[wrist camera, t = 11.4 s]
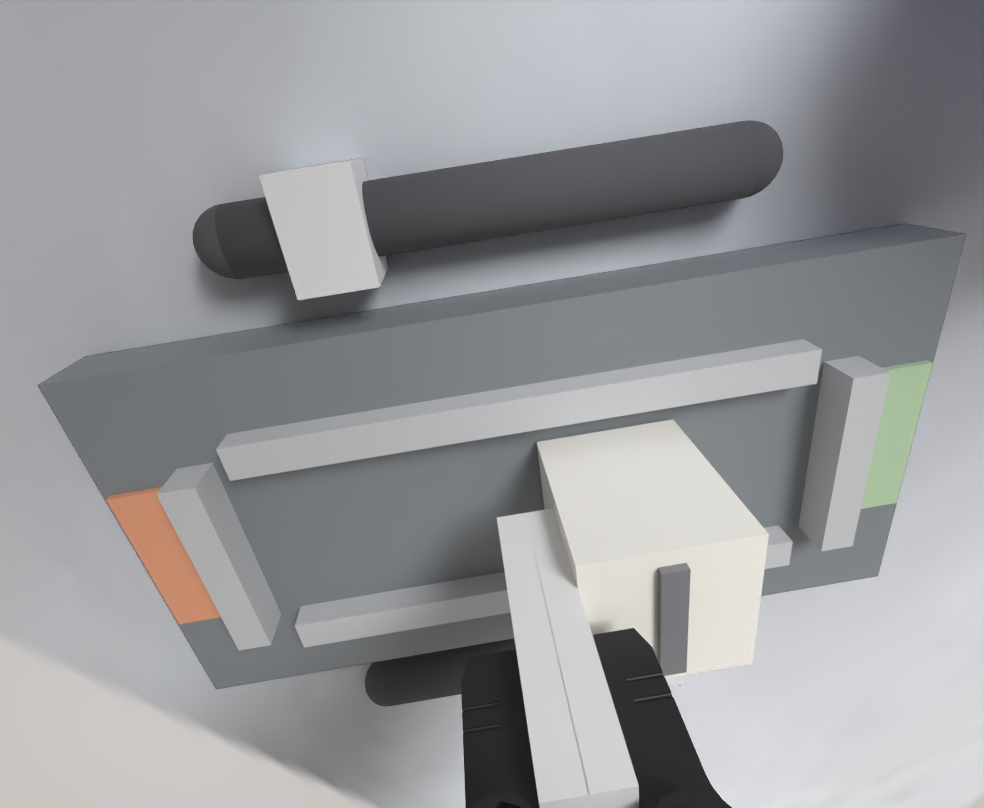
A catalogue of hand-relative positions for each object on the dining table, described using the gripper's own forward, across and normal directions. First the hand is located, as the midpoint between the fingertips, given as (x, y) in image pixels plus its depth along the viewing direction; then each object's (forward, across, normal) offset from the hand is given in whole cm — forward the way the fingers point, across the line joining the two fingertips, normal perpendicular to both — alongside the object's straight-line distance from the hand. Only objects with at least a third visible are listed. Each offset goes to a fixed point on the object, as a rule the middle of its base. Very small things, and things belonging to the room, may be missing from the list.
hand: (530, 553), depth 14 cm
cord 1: (+4, 0, +8) cm, 10 cm away
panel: (+4, 0, 0) cm, 4 cm away
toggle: (+2, +3, 0) cm, 4 cm away
